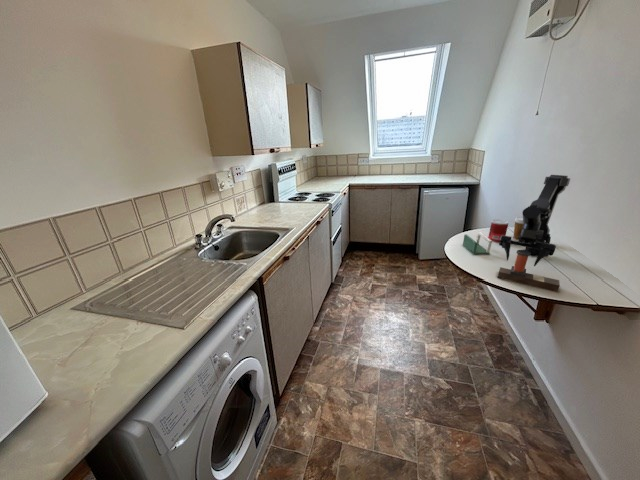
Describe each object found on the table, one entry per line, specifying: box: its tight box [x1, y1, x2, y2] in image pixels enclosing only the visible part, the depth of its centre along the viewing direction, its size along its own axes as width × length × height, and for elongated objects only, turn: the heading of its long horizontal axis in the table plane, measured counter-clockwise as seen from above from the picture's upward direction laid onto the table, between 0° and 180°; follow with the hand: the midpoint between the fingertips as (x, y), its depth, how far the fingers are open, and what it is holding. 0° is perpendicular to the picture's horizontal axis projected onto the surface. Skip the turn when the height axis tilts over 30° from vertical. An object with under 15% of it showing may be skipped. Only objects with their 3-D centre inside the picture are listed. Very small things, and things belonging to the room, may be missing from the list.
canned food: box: [487, 219, 509, 243], centre depth 151 cm, size 8×8×11 cm
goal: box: [462, 231, 493, 255], centre depth 141 cm, size 8×12×8 cm, turn 178°
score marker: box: [510, 249, 531, 278], centre depth 110 cm, size 5×6×10 cm
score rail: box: [497, 267, 561, 293], centre depth 111 cm, size 20×5×3 cm, turn 53°
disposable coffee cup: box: [512, 216, 524, 241], centre depth 151 cm, size 10×10×12 cm
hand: (520, 262), depth 110 cm, fingers open, 9 cm apart
